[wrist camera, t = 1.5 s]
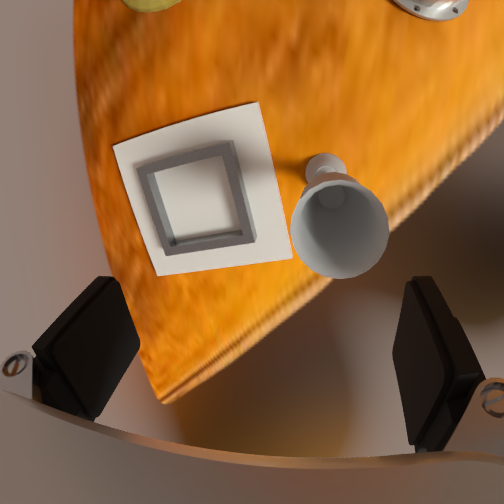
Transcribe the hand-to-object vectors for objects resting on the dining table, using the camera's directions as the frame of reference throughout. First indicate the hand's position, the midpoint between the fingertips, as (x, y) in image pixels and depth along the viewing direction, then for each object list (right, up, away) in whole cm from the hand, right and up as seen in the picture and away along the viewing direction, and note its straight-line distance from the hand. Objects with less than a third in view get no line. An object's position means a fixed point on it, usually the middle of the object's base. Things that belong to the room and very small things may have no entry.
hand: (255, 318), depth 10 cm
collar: (-7, +9, +31) cm, 33 cm away
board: (-7, +9, +31) cm, 33 cm away
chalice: (+9, +11, +27) cm, 31 cm away
